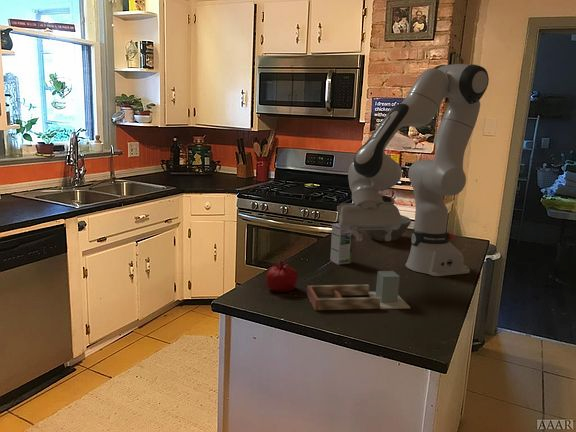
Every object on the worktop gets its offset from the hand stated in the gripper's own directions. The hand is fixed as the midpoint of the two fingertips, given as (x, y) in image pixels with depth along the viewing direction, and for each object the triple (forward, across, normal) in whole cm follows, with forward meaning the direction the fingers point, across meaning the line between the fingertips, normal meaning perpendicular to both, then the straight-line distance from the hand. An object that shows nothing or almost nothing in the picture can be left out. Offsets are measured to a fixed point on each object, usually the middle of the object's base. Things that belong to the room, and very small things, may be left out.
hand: (374, 240), depth 151 cm
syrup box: (-7, -3, +29) cm, 30 cm away
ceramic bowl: (-28, +25, +51) cm, 64 cm away
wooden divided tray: (+19, -12, +3) cm, 23 cm away
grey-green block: (+19, +1, +3) cm, 19 cm away
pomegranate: (+11, -29, +11) cm, 33 cm away
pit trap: (+19, -18, +3) cm, 26 cm away
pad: (+19, +1, +3) cm, 19 cm away
